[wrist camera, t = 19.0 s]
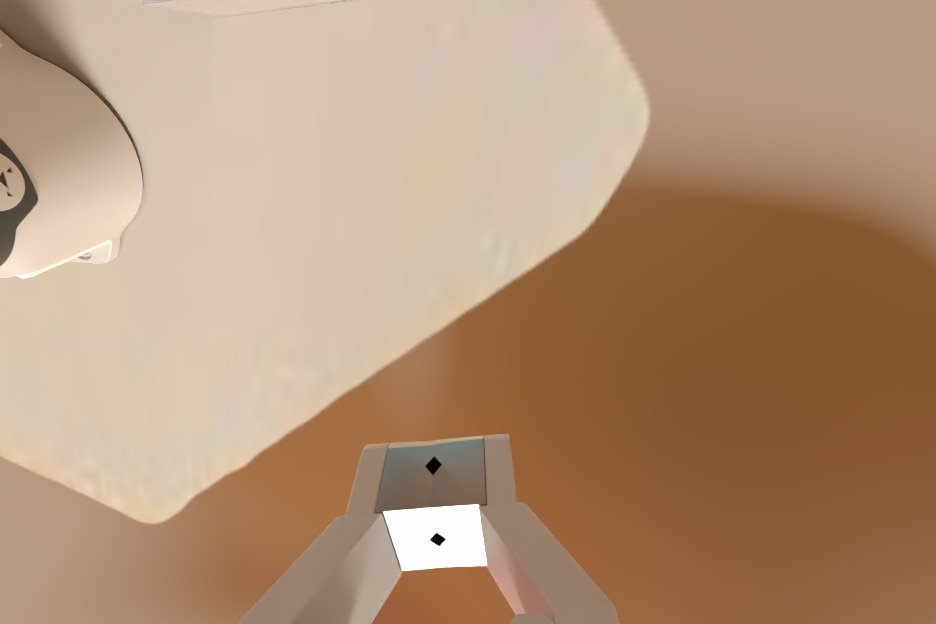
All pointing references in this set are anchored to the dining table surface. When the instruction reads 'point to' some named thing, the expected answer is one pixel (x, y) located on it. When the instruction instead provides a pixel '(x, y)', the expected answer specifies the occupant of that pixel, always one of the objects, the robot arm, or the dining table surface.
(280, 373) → the dining table surface
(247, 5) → the white box
